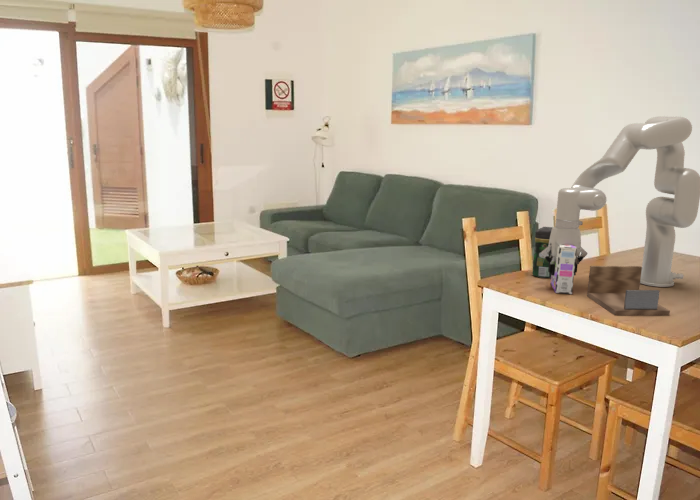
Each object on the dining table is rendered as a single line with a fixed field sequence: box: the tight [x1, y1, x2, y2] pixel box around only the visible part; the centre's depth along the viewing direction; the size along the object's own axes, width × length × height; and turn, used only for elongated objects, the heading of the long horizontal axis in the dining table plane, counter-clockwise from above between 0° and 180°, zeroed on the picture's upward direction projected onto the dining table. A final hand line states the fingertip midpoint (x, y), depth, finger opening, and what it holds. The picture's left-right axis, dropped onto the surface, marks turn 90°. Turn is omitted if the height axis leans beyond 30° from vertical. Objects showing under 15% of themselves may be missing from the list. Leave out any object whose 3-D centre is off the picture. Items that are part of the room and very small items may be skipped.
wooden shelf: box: [586, 265, 671, 316], centre depth 189 cm, size 17×20×10 cm
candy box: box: [550, 245, 577, 295], centre depth 207 cm, size 14×6×16 cm, turn 168°
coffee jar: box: [532, 226, 553, 279], centre depth 224 cm, size 10×8×19 cm
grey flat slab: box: [624, 289, 660, 310], centre depth 181 cm, size 10×1×6 cm, turn 92°
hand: (562, 274), depth 207 cm, fingers open, 6 cm apart
